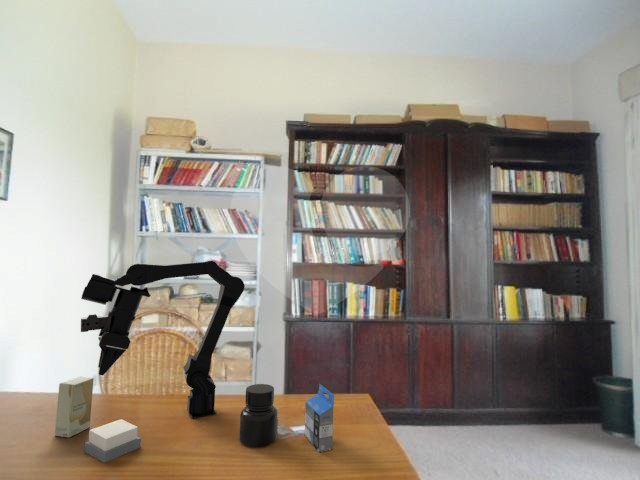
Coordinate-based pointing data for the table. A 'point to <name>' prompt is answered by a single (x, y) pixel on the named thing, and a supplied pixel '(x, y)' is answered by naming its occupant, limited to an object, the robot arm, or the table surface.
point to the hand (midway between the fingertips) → (100, 371)
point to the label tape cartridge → (320, 419)
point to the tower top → (113, 434)
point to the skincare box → (74, 406)
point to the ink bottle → (258, 417)
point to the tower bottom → (112, 450)
